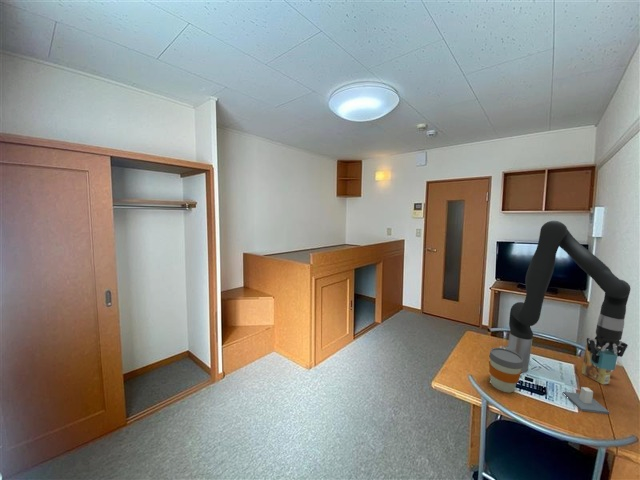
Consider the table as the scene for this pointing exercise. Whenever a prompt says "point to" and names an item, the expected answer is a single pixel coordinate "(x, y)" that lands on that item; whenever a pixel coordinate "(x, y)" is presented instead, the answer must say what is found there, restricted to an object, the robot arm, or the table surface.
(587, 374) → the candy box
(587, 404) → the gray base with block
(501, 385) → the reusable coffee cup
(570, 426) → the table surface
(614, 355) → the teal block
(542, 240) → the robot arm
